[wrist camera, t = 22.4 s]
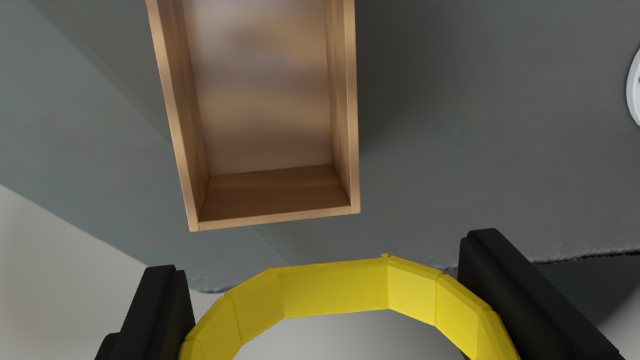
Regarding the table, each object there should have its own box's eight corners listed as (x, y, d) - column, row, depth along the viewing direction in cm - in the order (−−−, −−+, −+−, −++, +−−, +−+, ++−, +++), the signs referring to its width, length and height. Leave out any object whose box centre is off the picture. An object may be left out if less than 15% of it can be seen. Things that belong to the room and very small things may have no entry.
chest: (339, 166, 43) (360, 213, 34) (204, 180, 41) (189, 232, 33) (329, -47, 36) (353, -60, 27) (167, -38, 34) (135, -48, 26)
